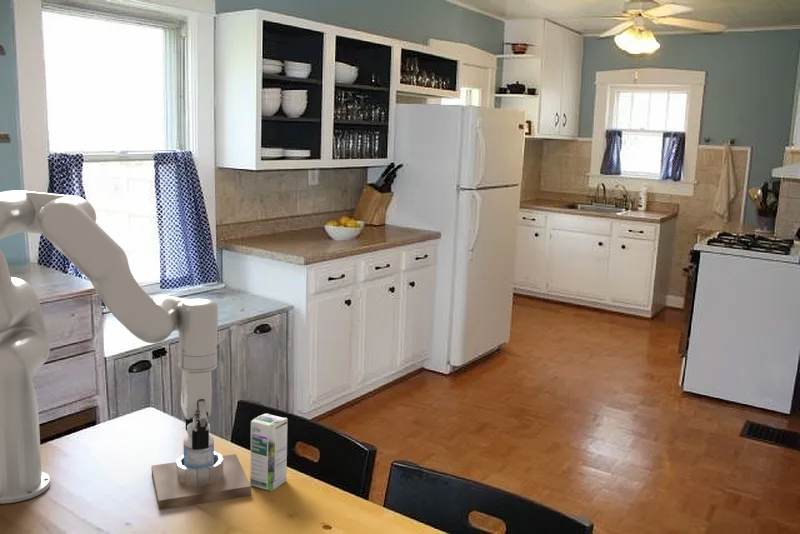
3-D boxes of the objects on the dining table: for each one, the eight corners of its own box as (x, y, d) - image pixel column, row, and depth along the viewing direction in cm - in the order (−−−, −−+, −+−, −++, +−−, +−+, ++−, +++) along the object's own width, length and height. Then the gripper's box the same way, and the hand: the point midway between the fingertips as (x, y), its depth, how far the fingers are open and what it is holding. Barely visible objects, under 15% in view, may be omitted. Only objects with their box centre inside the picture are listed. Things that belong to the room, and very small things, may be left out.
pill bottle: (191, 468, 155) (190, 418, 153) (218, 470, 154) (218, 421, 152) (179, 481, 149) (178, 429, 147) (207, 484, 148) (206, 432, 146)
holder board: (158, 510, 142) (158, 500, 141) (151, 474, 156) (151, 465, 156) (250, 495, 149) (250, 486, 148) (235, 462, 163) (235, 454, 163)
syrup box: (249, 485, 153) (249, 420, 150) (265, 474, 158) (266, 411, 155) (271, 492, 150) (272, 426, 148) (287, 480, 155) (288, 416, 153)
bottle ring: (180, 489, 146) (179, 472, 145) (174, 469, 154) (174, 454, 154) (226, 482, 150) (226, 466, 149) (218, 463, 158) (218, 448, 157)
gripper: (173, 348, 154) (173, 424, 157) (184, 374, 138) (183, 458, 141) (209, 346, 157) (208, 421, 160) (224, 371, 141) (222, 454, 144)
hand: (196, 438), depth 150 cm, fingers open, 9 cm apart
